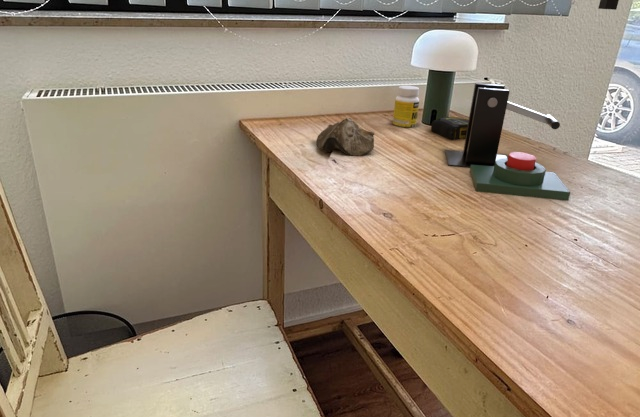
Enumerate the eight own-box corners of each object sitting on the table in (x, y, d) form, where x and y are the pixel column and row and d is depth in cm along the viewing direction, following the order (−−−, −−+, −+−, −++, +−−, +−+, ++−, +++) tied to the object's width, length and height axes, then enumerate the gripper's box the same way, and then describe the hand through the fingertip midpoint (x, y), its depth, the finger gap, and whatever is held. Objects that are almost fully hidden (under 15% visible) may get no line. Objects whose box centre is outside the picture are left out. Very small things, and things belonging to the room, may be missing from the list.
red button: (530, 165, 70) (532, 153, 69) (536, 173, 67) (539, 161, 66) (504, 162, 70) (506, 151, 70) (508, 170, 67) (511, 158, 66)
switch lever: (546, 126, 78) (554, 112, 77) (555, 134, 73) (563, 119, 72) (475, 99, 78) (482, 85, 77) (479, 106, 73) (486, 91, 72)
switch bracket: (504, 162, 82) (520, 84, 77) (513, 178, 75) (532, 94, 70) (443, 156, 84) (455, 80, 79) (447, 171, 77) (460, 88, 71)
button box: (551, 186, 73) (557, 160, 71) (566, 207, 66) (574, 179, 64) (468, 178, 74) (472, 152, 73) (474, 197, 67) (479, 170, 66)
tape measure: (428, 135, 96) (430, 116, 94) (457, 133, 98) (460, 115, 97) (448, 145, 90) (451, 125, 88) (479, 143, 92) (482, 123, 91)
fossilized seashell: (386, 142, 81) (344, 137, 89) (371, 109, 77) (328, 108, 85) (360, 172, 78) (319, 165, 86) (343, 140, 75) (301, 136, 82)
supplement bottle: (413, 133, 96) (419, 90, 93) (389, 130, 98) (394, 87, 94) (417, 128, 101) (422, 86, 97) (394, 125, 102) (399, 84, 98)
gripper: (703, -189, 62) (644, 10, 72) (595, -189, 64) (551, 6, 74) (739, -211, 56) (669, 12, 65) (616, -211, 57) (566, 7, 67)
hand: (607, 8), depth 69 cm, fingers closed
